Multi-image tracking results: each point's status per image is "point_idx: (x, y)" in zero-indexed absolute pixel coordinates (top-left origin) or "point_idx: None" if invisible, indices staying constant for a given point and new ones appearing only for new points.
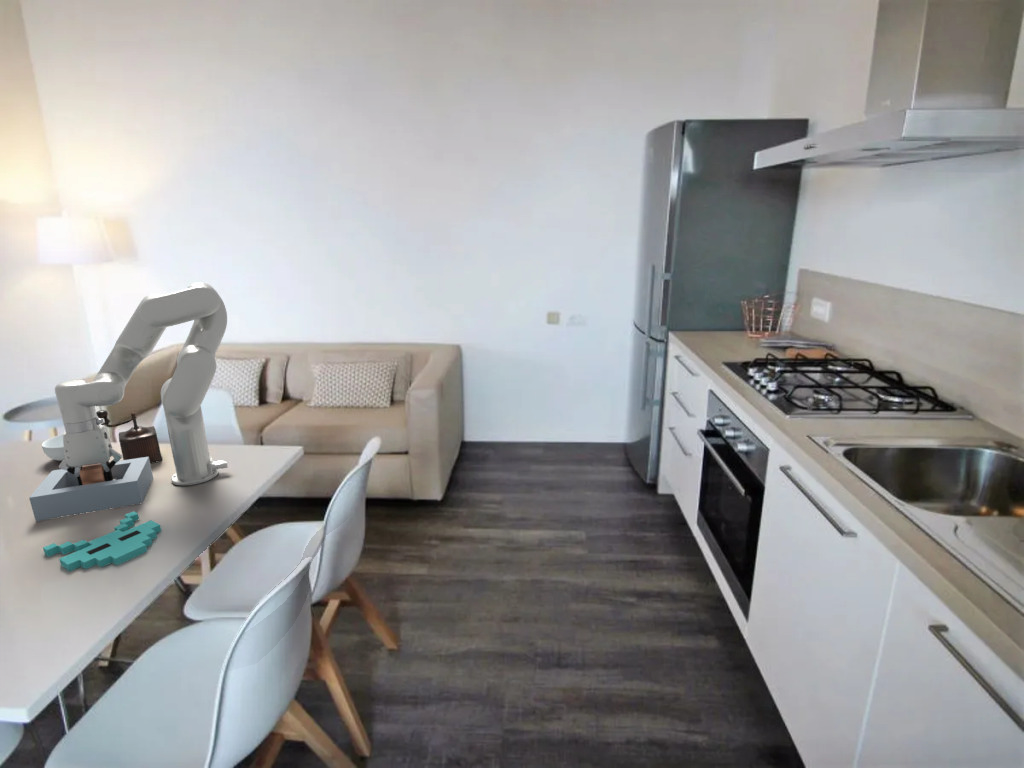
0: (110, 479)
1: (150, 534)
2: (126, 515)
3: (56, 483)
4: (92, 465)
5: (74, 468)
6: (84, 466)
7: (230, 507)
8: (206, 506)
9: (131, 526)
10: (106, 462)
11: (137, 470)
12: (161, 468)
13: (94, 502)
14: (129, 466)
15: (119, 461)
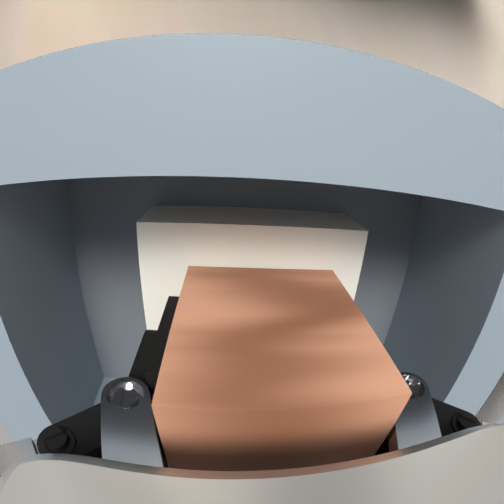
0: None
1: None
2: None
3: (36, 399)
4: (272, 451)
5: (92, 451)
6: (177, 443)
7: (495, 419)
8: (480, 415)
9: None
10: (413, 442)
11: (490, 376)
12: (483, 38)
13: None
14: (495, 300)
15: (462, 107)
